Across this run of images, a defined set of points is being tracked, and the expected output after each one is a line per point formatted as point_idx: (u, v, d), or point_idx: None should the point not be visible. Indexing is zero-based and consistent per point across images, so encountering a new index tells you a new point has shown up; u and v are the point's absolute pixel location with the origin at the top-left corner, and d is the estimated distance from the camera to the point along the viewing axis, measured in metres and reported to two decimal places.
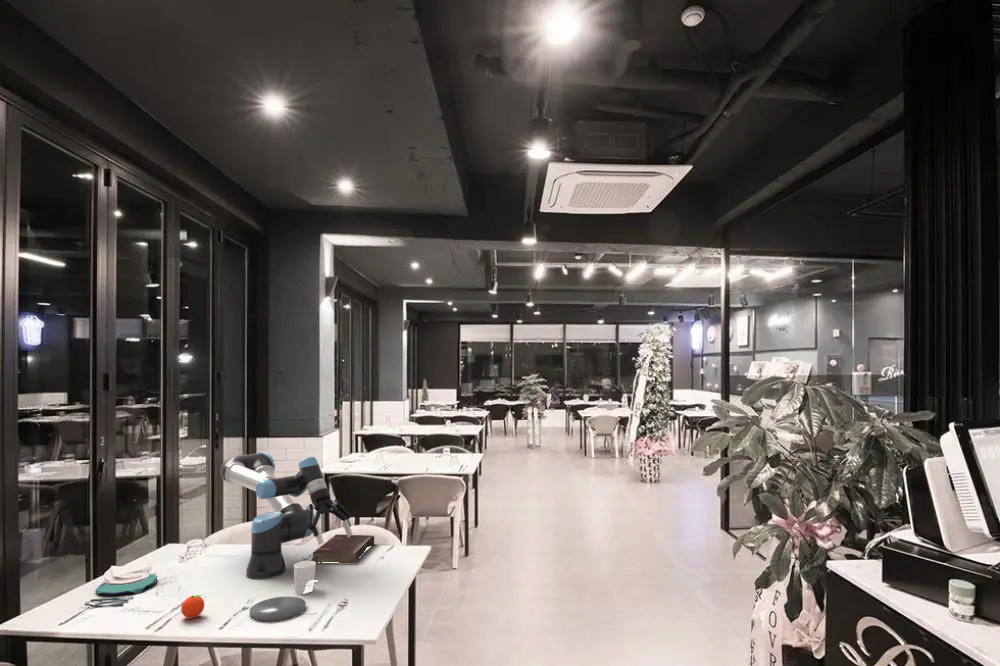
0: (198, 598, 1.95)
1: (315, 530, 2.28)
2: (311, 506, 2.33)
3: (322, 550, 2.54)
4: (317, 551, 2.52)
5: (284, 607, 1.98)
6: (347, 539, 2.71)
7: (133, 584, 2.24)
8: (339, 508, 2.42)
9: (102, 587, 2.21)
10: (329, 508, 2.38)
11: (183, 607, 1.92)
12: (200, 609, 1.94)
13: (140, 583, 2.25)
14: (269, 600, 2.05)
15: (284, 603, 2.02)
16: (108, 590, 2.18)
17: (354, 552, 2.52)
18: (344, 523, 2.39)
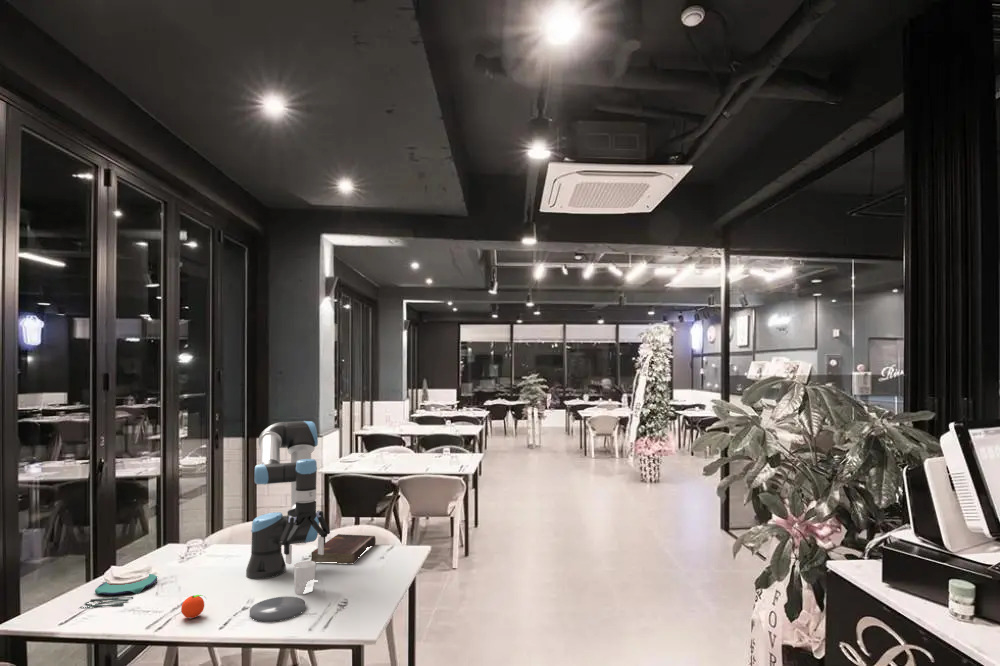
0: (198, 598, 1.95)
1: (287, 549, 2.12)
2: (292, 520, 2.14)
3: None
4: (316, 551, 2.53)
5: (284, 607, 1.98)
6: (347, 539, 2.71)
7: (133, 584, 2.24)
8: (320, 521, 2.24)
9: (102, 587, 2.21)
10: (310, 523, 2.20)
11: (183, 607, 1.92)
12: (200, 609, 1.94)
13: (140, 583, 2.25)
14: (269, 600, 2.05)
15: (284, 603, 2.02)
16: (108, 590, 2.18)
17: (352, 552, 2.52)
18: (319, 539, 2.24)
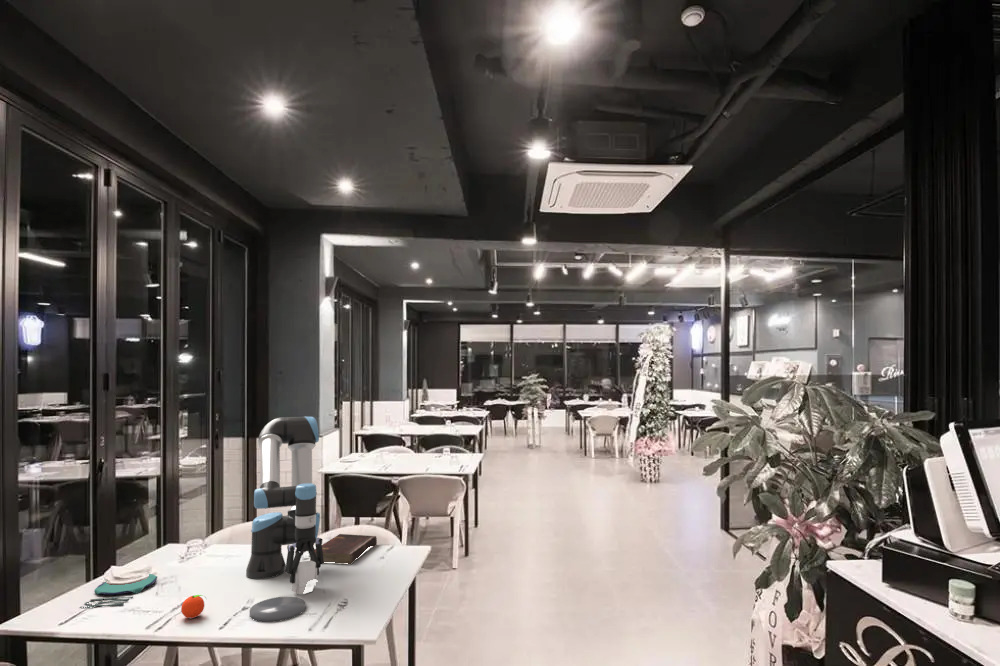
0: (198, 598, 1.95)
1: (293, 577, 2.14)
2: (292, 549, 2.13)
3: None
4: (315, 550, 2.53)
5: (284, 607, 1.98)
6: (348, 539, 2.71)
7: (132, 584, 2.24)
8: (317, 549, 2.23)
9: (101, 587, 2.21)
10: (309, 548, 2.19)
11: (183, 607, 1.92)
12: (200, 609, 1.94)
13: (139, 583, 2.25)
14: (269, 600, 2.05)
15: (284, 603, 2.02)
16: (107, 590, 2.18)
17: (350, 552, 2.51)
18: None
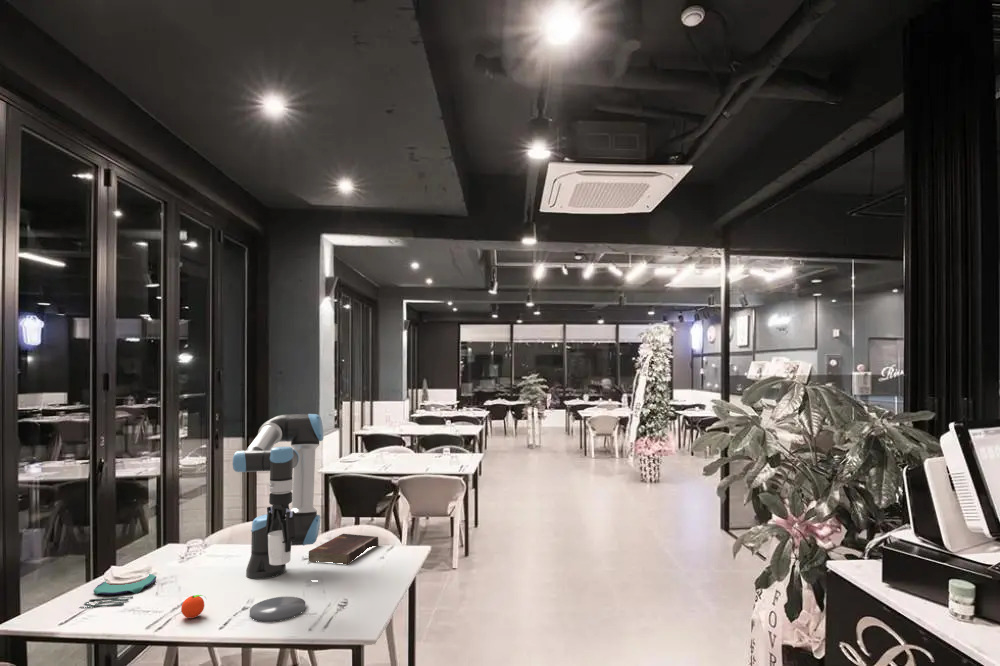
0: (198, 598, 1.95)
1: None
2: (267, 510, 2.05)
3: (319, 549, 2.55)
4: (314, 550, 2.54)
5: (284, 607, 1.98)
6: (349, 539, 2.71)
7: (131, 584, 2.24)
8: None
9: (100, 587, 2.20)
10: None
11: (183, 607, 1.92)
12: (200, 609, 1.94)
13: (138, 583, 2.25)
14: (269, 600, 2.05)
15: (284, 603, 2.02)
16: (106, 590, 2.18)
17: (348, 553, 2.51)
18: None
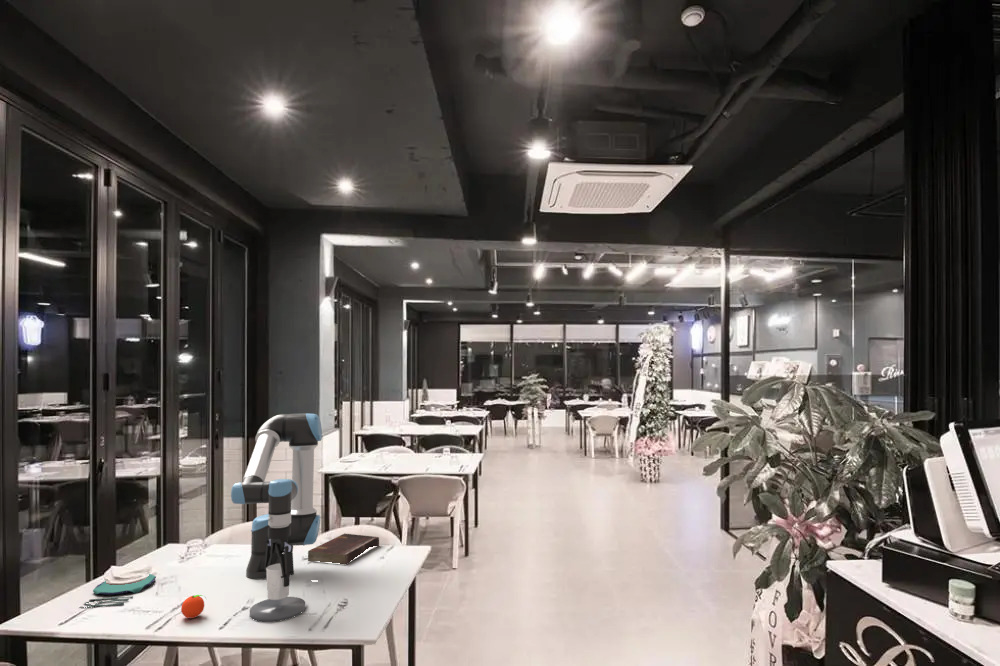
0: (198, 598, 1.95)
1: None
2: (266, 543, 2.04)
3: (318, 549, 2.56)
4: (313, 549, 2.55)
5: (284, 607, 1.98)
6: (350, 539, 2.71)
7: (131, 584, 2.24)
8: None
9: (99, 587, 2.20)
10: None
11: (183, 607, 1.92)
12: (200, 609, 1.94)
13: (138, 583, 2.25)
14: (269, 600, 2.05)
15: (284, 603, 2.02)
16: (106, 590, 2.18)
17: (346, 553, 2.51)
18: None
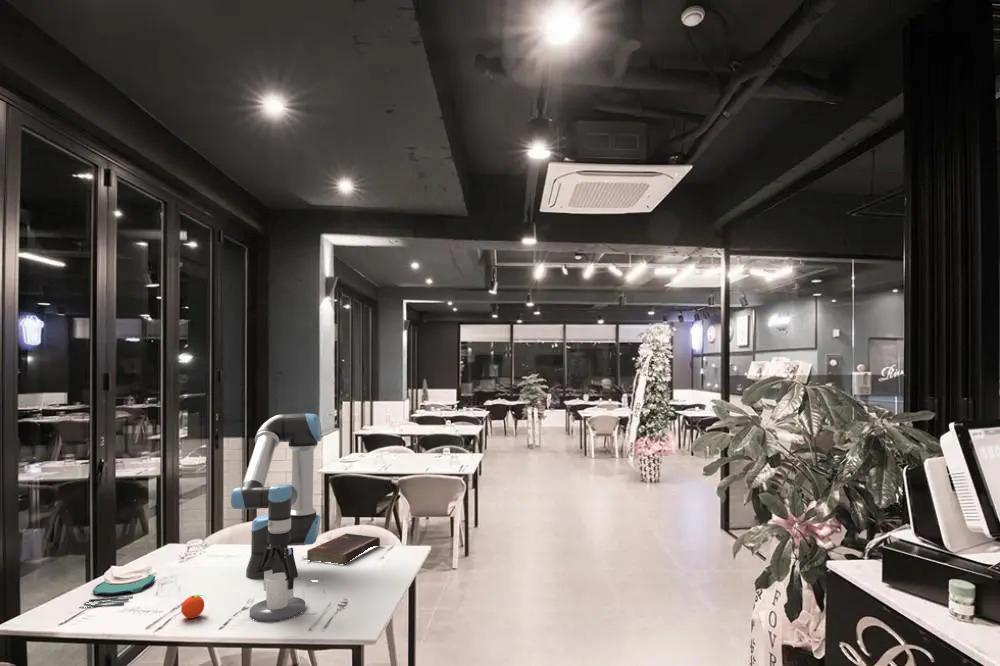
0: (198, 598, 1.95)
1: None
2: (266, 546, 2.04)
3: (317, 548, 2.56)
4: (312, 549, 2.55)
5: (284, 607, 1.98)
6: (350, 539, 2.71)
7: (130, 584, 2.24)
8: None
9: (99, 587, 2.20)
10: None
11: (183, 607, 1.92)
12: (200, 609, 1.94)
13: (137, 582, 2.26)
14: None
15: None
16: (105, 590, 2.18)
17: (344, 553, 2.51)
18: None
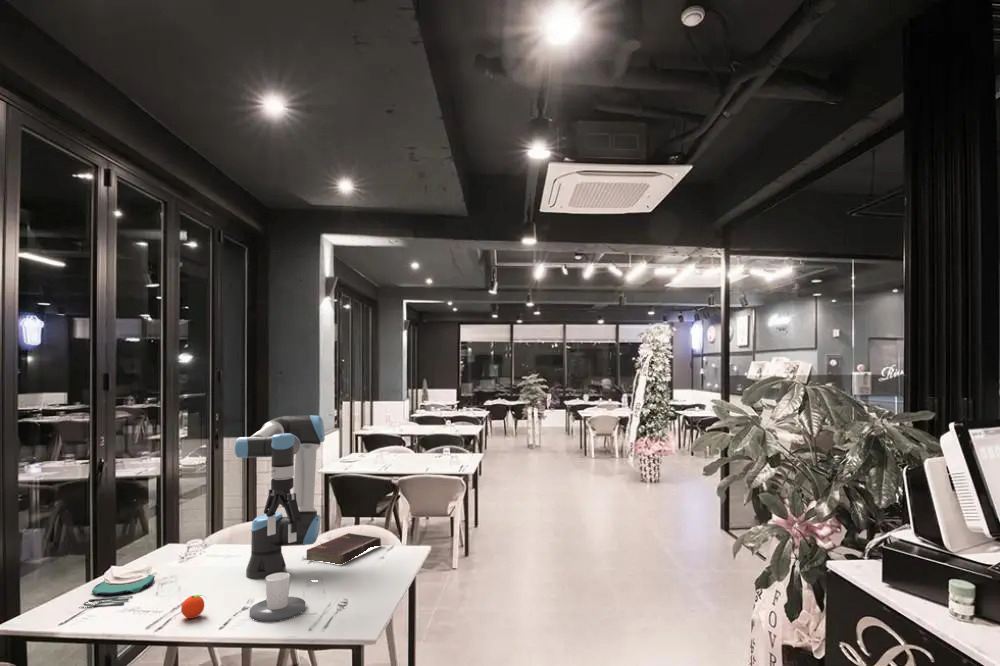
0: (198, 598, 1.95)
1: (268, 519, 2.10)
2: (269, 493, 2.09)
3: (317, 548, 2.57)
4: (312, 549, 2.56)
5: (284, 607, 1.98)
6: (351, 539, 2.70)
7: (130, 584, 2.24)
8: None
9: (98, 587, 2.20)
10: None
11: (183, 607, 1.92)
12: (200, 609, 1.94)
13: (137, 582, 2.26)
14: None
15: None
16: (105, 590, 2.18)
17: (342, 553, 2.50)
18: None
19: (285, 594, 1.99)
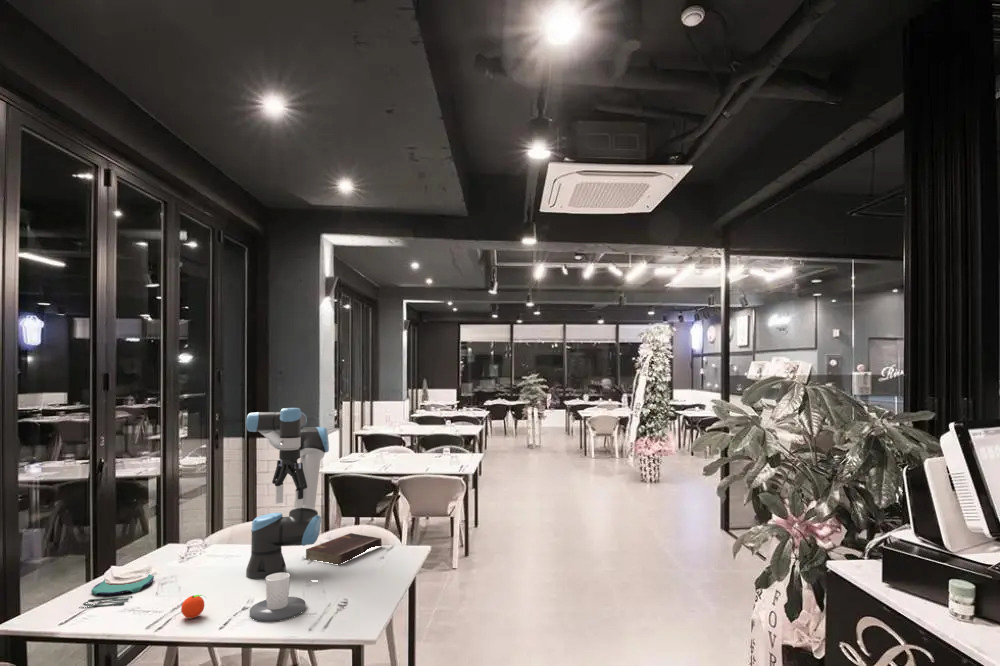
0: (198, 598, 1.95)
1: (276, 488, 2.25)
2: (277, 463, 2.24)
3: (316, 548, 2.58)
4: (311, 548, 2.57)
5: (284, 607, 1.98)
6: (352, 539, 2.70)
7: (129, 584, 2.24)
8: None
9: (97, 587, 2.20)
10: None
11: (183, 607, 1.92)
12: (200, 609, 1.94)
13: None
14: None
15: None
16: (104, 590, 2.18)
17: (340, 553, 2.50)
18: None
19: (285, 594, 1.99)
